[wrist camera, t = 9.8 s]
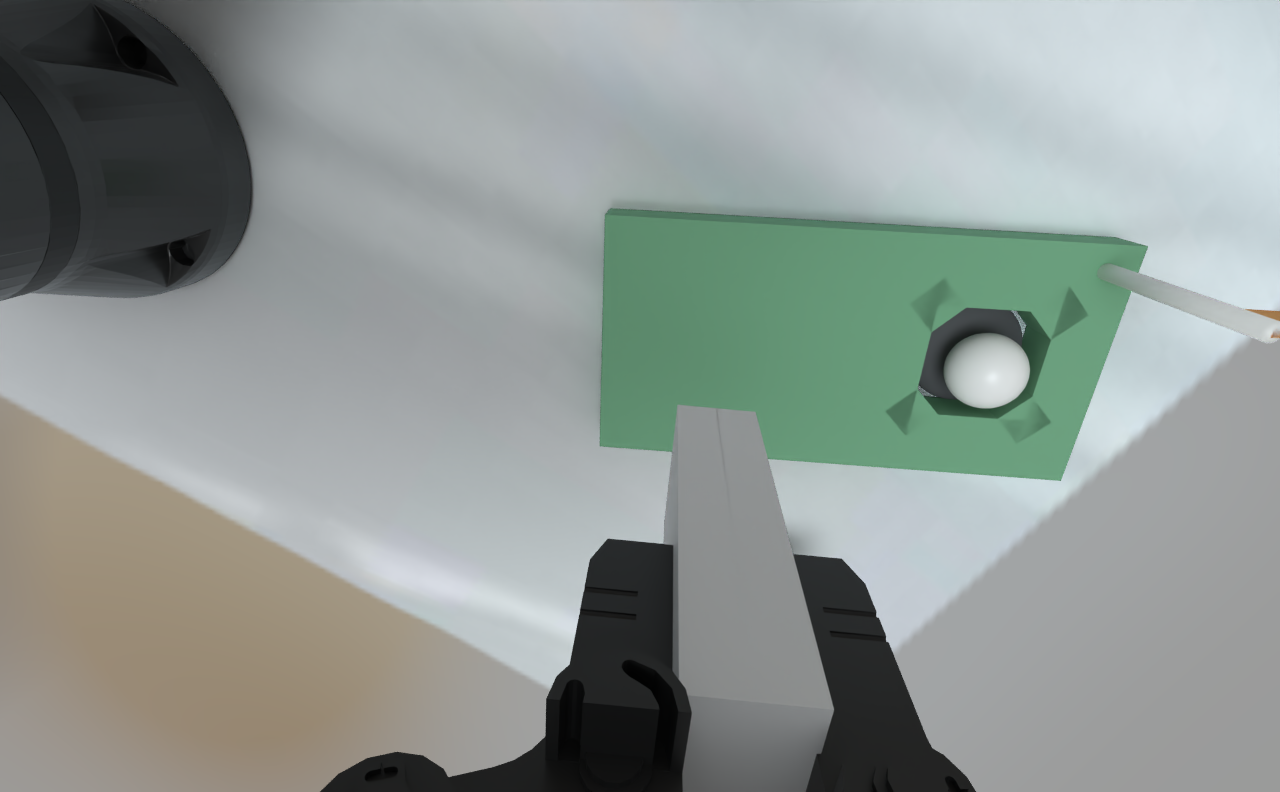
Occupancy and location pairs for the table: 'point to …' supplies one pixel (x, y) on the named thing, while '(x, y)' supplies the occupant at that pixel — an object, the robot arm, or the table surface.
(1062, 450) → the green
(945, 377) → the ball
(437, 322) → the table surface
